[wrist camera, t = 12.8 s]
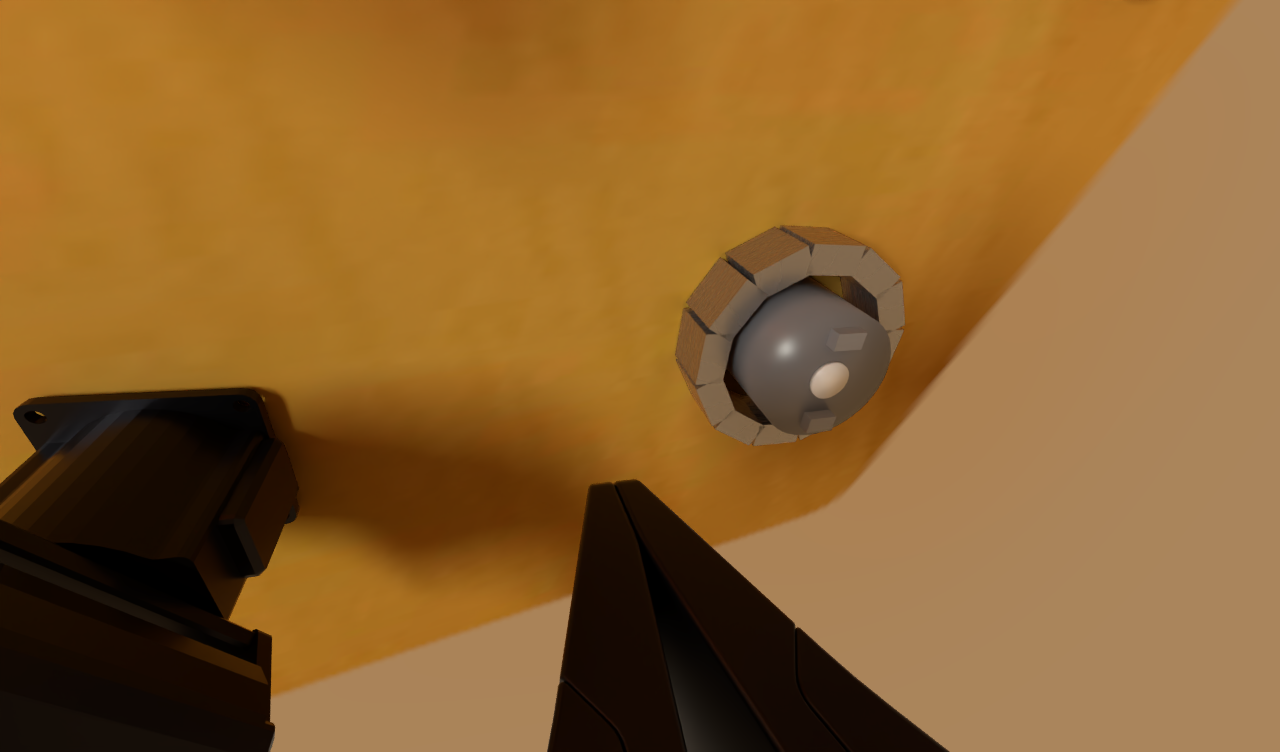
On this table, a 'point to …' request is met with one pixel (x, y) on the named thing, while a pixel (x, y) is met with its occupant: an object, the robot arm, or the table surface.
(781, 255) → the segmented ring
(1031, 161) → the table surface
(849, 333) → the cap
